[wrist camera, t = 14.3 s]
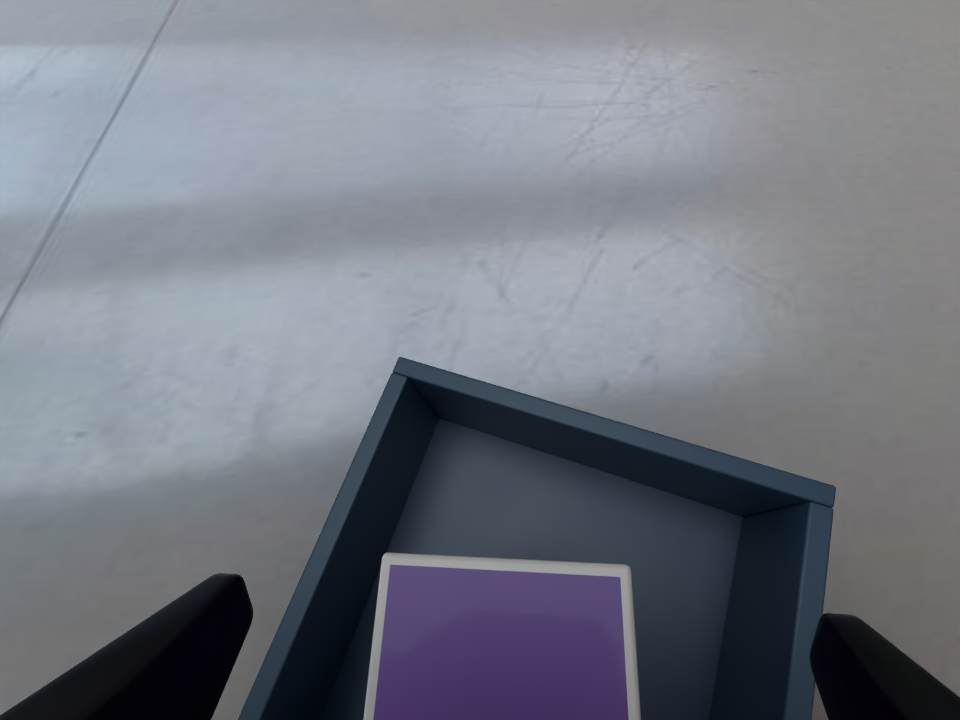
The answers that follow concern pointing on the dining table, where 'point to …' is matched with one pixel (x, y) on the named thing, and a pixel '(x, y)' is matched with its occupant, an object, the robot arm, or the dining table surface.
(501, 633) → the purple white-banded prism
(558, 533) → the open blue box
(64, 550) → the dining table surface
